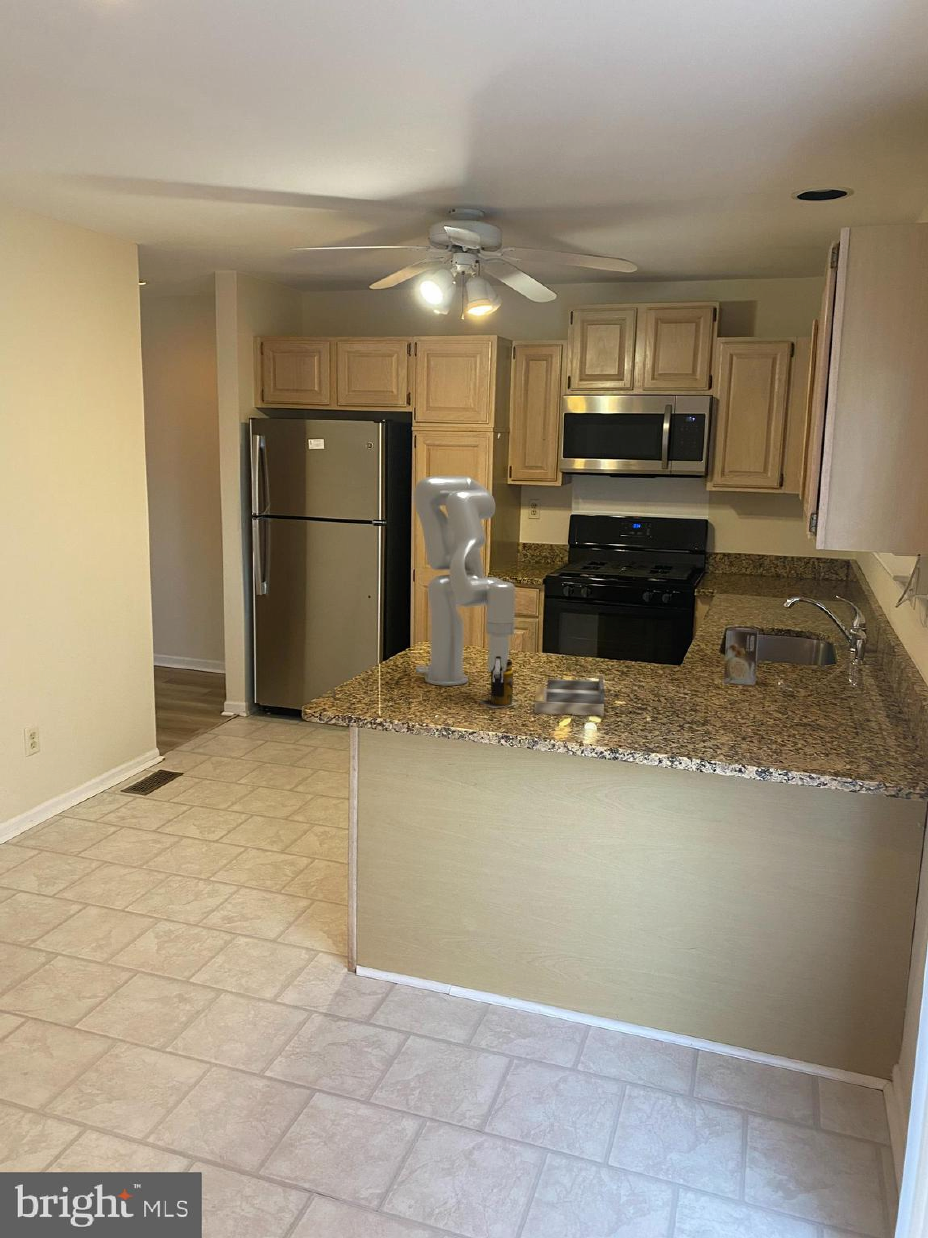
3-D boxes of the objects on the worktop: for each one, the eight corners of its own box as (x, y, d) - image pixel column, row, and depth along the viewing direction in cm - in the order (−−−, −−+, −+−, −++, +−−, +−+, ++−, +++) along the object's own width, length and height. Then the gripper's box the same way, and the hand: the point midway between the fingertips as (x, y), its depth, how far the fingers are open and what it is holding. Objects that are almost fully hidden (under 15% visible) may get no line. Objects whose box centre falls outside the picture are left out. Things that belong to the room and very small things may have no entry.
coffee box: (756, 681, 280) (760, 628, 277) (754, 686, 274) (758, 632, 271) (725, 677, 283) (728, 626, 280) (722, 682, 277) (726, 630, 274)
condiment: (518, 704, 252) (520, 661, 249) (493, 709, 247) (494, 665, 245) (503, 698, 258) (504, 656, 255) (477, 702, 253) (478, 659, 251)
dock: (534, 713, 244) (535, 687, 242) (536, 696, 259) (537, 672, 258) (603, 716, 242) (604, 690, 241) (601, 699, 258) (602, 675, 256)
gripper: (488, 621, 258) (487, 684, 261) (483, 634, 241) (482, 701, 244) (515, 622, 257) (514, 685, 260) (512, 635, 240) (510, 702, 243)
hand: (498, 692), depth 252 cm, fingers closed on condiment, 6 cm apart
